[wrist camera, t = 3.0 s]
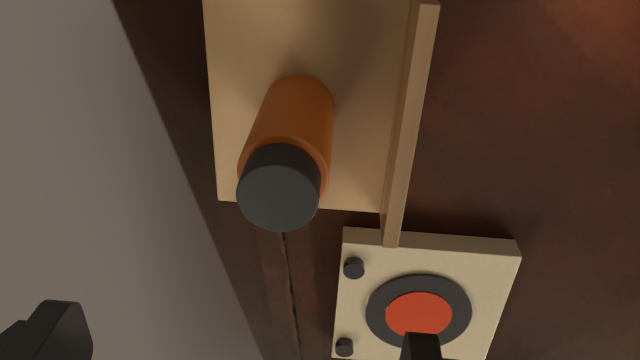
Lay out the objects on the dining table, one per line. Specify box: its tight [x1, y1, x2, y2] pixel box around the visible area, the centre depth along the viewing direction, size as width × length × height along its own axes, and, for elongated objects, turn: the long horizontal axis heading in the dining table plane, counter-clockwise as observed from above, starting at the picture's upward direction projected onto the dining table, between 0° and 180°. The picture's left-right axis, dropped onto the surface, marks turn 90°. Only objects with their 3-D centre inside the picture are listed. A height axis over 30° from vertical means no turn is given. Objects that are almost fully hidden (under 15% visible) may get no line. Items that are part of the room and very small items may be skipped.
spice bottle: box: [236, 75, 335, 232], centre depth 20 cm, size 4×4×8 cm
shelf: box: [202, 0, 441, 249], centre depth 25 cm, size 10×12×10 cm
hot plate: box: [331, 226, 522, 360], centre depth 38 cm, size 13×13×3 cm
